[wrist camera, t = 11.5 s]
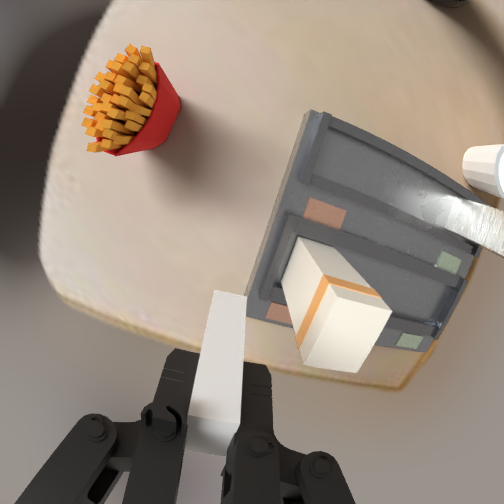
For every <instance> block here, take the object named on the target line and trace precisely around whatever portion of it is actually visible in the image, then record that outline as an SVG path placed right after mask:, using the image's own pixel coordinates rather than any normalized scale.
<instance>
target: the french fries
mask: <svg viewBox="0 0 504 504" xmlns="http://www.w3.org/2000/svg"><path fill="white" fill-rule="evenodd" d="M125 51H126V53H127V55H128V56H129V58H128V57H127V56H125V55H122V54H119V53H118V54H117V55H116V57H115V59H114V60H115V61H111V60H109V61H108V63H107V65H106V68H108V69H109V70H110V71H111V72H112V73H111V72H108V71H107V73H106V75H105V74H103V73H101V72H98V74H97V75H96V77H95V78H94V79H96V80H98V81H99V82H100V84H99V85H98V86H96V85H94V84H93V85H92V86H91V88H90V89H89V92H91V93H93V94H95V95H97V96H99V97H101V99H100V98H98V97H95V96H93V95H90V97H89V99H88V101H87V102H89V103H91V104H93V105H92V107H90V106H86V108H85V110H84V112H83V113H85V114H88V115H90V116H93V117H94V119H96V120H93V119H89V118H84V121H83V123H82V126H85V127H87V130H86V133H85V134H87V135H90V136H92V137H96V139H97V142H94V143H88V147H87V151H90V152H101V151H104V152H107V153H109V154H112V155H114V156H120V155H124V154H129V153H133V152H138V151H143V150H148V149H154V148H155V147H157V146H159V145H160V144H162V143H164V142H165V141H166V139H167V137H168V135H169V133H170V131H171V129H172V126H173V124H174V122H175V120H176V118H177V115H178V113H179V111H180V108H181V105H180V101H179V97H178V94H177V93H176V91H175V89H174V88H173V86H172V84H171V83H170V81H169V80H168V78H167V76H166V75H165V73H164V71H163V70H162V68H161V67H160V65H159V63H156V62H154V59H153V56H152V52H151V48H148V47H144V46H141V50H140V54H141V56H142V58H141V56H140V54H139V52H138V50H137V48H135V47H134V46H132V45H131V44H129V45H128V46H127V48H126V49H125ZM103 89H104V90H103ZM105 90H106V91H105ZM108 92H109V93H108Z"/></svg>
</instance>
